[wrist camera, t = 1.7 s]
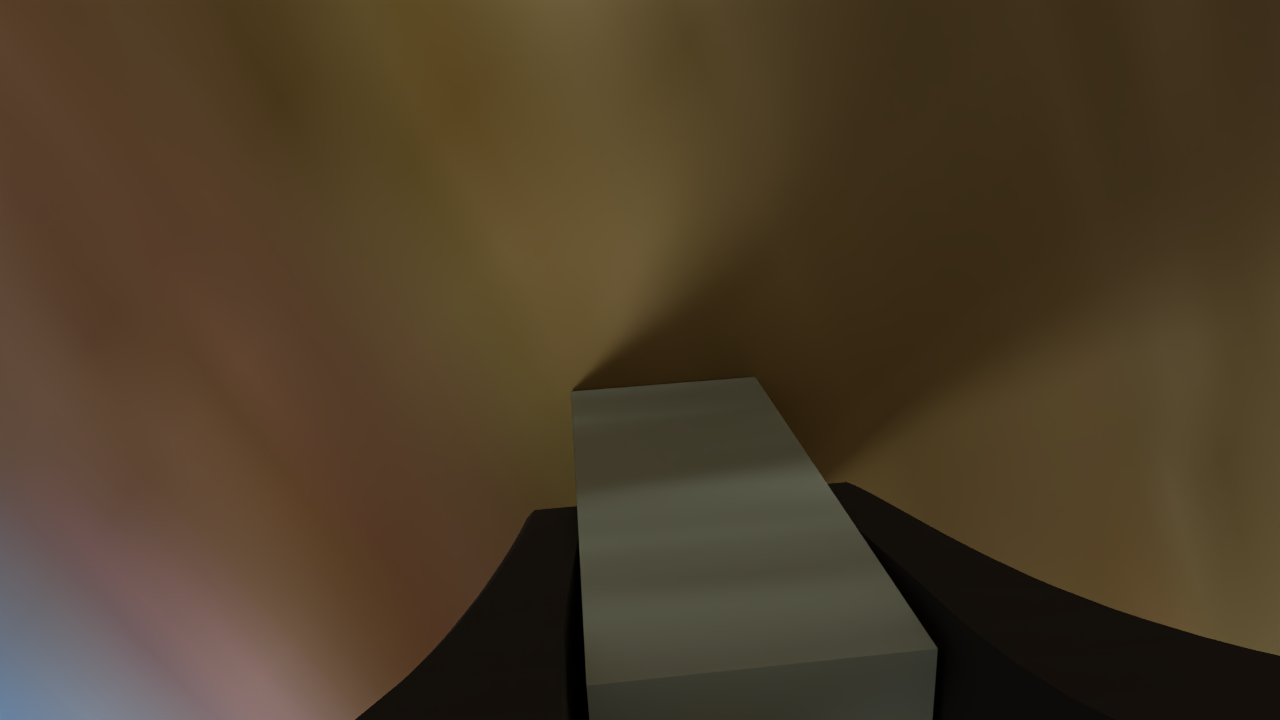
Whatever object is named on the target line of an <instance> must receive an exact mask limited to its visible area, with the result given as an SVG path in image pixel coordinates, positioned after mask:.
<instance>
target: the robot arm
mask: <svg viewBox="0 0 1280 720" xmlns="http://www.w3.org/2000/svg"><path fill="white" fill-rule="evenodd" d="M828 486H829V487H830V489H831V490H832V492H833V493H834V495H835V496H836V498H837V499H838V501H839V502H840V504H841V505H842V507H843V508H844V510H845V511H846V513H847V514H848V516H849V517H850V519H851V520H852V522H853V523H854V525H855V526H856V528H857V529H858V531H859V532H860V534H861V535H862V537H863V538H864V540H865V541H866V542H867V544H868V545H869V547H870V548H871V550H872V551H873V553H874V554H875V556H876V557H877V559H878V560H879V562H880V563H881V565H882V566H883V568H884V569H885V571H886V572H887V574H888V575H889V577H890V578H891V580H892V581H893V583H894V584H895V586H896V587H897V589H898V590H899V592H900V593H901V595H902V596H903V598H904V599H905V601H906V602H907V604H908V605H909V607H910V608H911V610H912V611H913V612H914V614H915V615H916V617H917V618H918V620H919V621H920V623H921V624H922V626H923V627H924V629H925V630H926V632H927V633H928V635H929V636H930V638H931V639H932V641H933V642H934V644H935V645H936V647H937V648H938V652H937V666H936V679H935V693H934V706H933V720H1280V656H1278V655H1274V654H1269V653H1265V652H1260V651H1256V650H1252V649H1248V648H1244V647H1240V646H1236V645H1232V644H1228V643H1224V642H1221V641H1217V640H1213V639H1209V638H1205V637H1202V636H1198V635H1195V634H1192V633H1188V632H1185V631H1182V630H1178V629H1175V628H1172V627H1168V626H1165V625H1162V624H1158V623H1155V622H1152V621H1148V620H1145V619H1142V618H1139V617H1136V616H1133V615H1130V614H1127V613H1124V612H1121V611H1118V610H1115V609H1112V608H1109V607H1107V606H1104V605H1101V604H1099V603H1096V602H1093V601H1091V600H1088V599H1086V598H1083V597H1080V596H1078V595H1075V594H1073V593H1070V592H1067V591H1065V590H1062V589H1060V588H1057V587H1054V586H1052V585H1050V584H1047V583H1045V582H1043V581H1040V580H1038V579H1035V578H1033V577H1031V576H1029V575H1026V574H1024V573H1022V572H1020V571H1018V570H1016V569H1014V568H1011V567H1009V566H1007V565H1005V564H1003V563H1001V562H999V561H997V560H994V559H992V558H990V557H988V556H986V555H984V554H982V553H980V552H978V551H976V550H974V549H972V548H970V547H968V546H966V545H964V544H962V543H960V542H958V541H957V540H955V539H953V538H951V537H949V536H947V535H945V534H943V533H941V532H940V531H938V530H936V529H934V528H932V527H930V526H929V525H927V524H925V523H923V522H921V521H920V520H918V519H916V518H914V517H912V516H911V515H909V514H907V513H905V512H903V511H902V510H900V509H898V508H896V507H894V506H893V505H891V504H889V503H887V502H885V501H884V500H882V499H880V498H878V497H876V496H874V495H873V494H871V493H869V492H867V491H865V490H863V489H861V488H859V487H857V486H855V485H852V484H850V483H847V482H844V483H832V484H828ZM355 720H589V709H588V698H587V686H586V667H585V647H584V628H583V609H582V590H581V571H580V552H579V533H578V513H577V506H576V507H564V508H553V509H542V510H534V511H533V513H532V514H531V515H530V516H529V517H528V518H527V519H526V521H525V524H524V526H523V527H522V529H521V531H520V533H519V535H518V537H517V538H516V540H515V542H514V544H513V545H512V547H511V549H510V550H509V552H508V553H507V555H506V557H505V558H504V560H503V561H502V563H501V564H500V566H499V567H498V569H497V570H496V572H495V573H494V574H493V576H492V577H491V579H490V580H489V582H488V583H487V585H486V586H485V588H484V589H483V590H482V592H481V593H480V595H479V596H478V597H477V599H476V600H475V601H474V602H473V604H472V605H471V606H470V607H469V608H468V610H467V611H466V612H465V613H464V615H463V616H462V617H461V618H460V620H459V621H458V622H457V623H456V625H455V626H454V627H453V628H452V630H451V631H450V632H449V633H448V634H447V635H446V637H445V638H444V639H443V640H442V641H441V642H440V643H439V644H438V646H437V647H436V648H435V649H434V650H433V651H432V652H431V653H430V654H429V655H428V656H427V657H426V658H425V659H424V660H423V661H422V662H421V663H420V664H419V665H418V666H417V667H416V668H415V669H414V670H413V671H412V672H411V673H410V674H409V675H408V676H407V677H406V678H405V679H404V680H403V681H402V682H400V683H399V684H398V685H397V686H396V687H394V688H393V689H392V690H391V691H389V692H388V693H387V694H386V695H385V696H383V697H382V698H381V699H380V700H379V701H377V702H376V703H375V704H374V705H372V706H371V707H370V708H369V709H368V710H366V711H365V712H364V713H363V714H362V715H360V716H359V717H358V718H357V719H355Z"/></svg>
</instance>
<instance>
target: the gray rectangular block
mask: <svg viewBox="0 0 1280 720" xmlns="http://www.w3.org/2000/svg"><path fill="white" fill-rule="evenodd" d="M571 399H572V418H573V437H574V456H575V475H576V494H577V513H578V533H579V552H580V571H581V590H582V609H583V628H584V647H585V667H586V686H587V698H588V709H589V720H933V706H934V693H935V679H936V666H937V652H938V648H937V647H936V645H935V644H934V642H933V641H932V639H931V638H930V636H929V635H928V633H927V632H926V630H925V629H924V627H923V626H922V624H921V623H920V621H919V620H918V618H917V617H916V615H915V614H914V612H913V611H912V610H911V608H910V607H909V605H908V604H907V602H906V601H905V599H904V598H903V596H902V595H901V593H900V592H899V590H898V589H897V587H896V586H895V584H894V583H893V581H892V580H891V578H890V577H889V575H888V574H887V572H886V571H885V569H884V568H883V566H882V565H881V563H880V562H879V560H878V559H877V557H876V556H875V554H874V553H873V551H872V550H871V548H870V547H869V545H868V544H867V542H866V541H865V540H864V538H863V537H862V535H861V534H860V532H859V531H858V529H857V528H856V526H855V525H854V523H853V522H852V520H851V519H850V517H849V516H848V514H847V513H846V511H845V510H844V508H843V507H842V505H841V504H840V502H839V501H838V499H837V498H836V496H835V495H834V493H833V492H832V490H831V489H830V487H829V486H828V484H827V483H826V481H825V480H824V478H823V477H822V475H821V474H820V472H819V471H818V470H817V468H816V467H815V465H814V464H813V462H812V461H811V459H810V458H809V456H808V455H807V453H806V452H805V450H804V449H803V447H802V446H801V444H800V443H799V441H798V440H797V438H796V437H795V435H794V434H793V432H792V431H791V429H790V428H789V426H788V425H787V423H786V422H785V420H784V419H783V417H782V416H781V414H780V413H779V411H778V410H777V408H776V407H775V405H774V404H773V402H772V401H771V399H770V398H769V397H768V395H767V394H766V392H765V391H764V389H763V388H762V386H761V385H760V383H759V382H758V380H757V379H756V377H746V378H734V379H721V380H709V381H696V382H683V383H671V384H658V385H646V386H633V387H621V388H608V389H595V390H583V391H571Z"/></svg>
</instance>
